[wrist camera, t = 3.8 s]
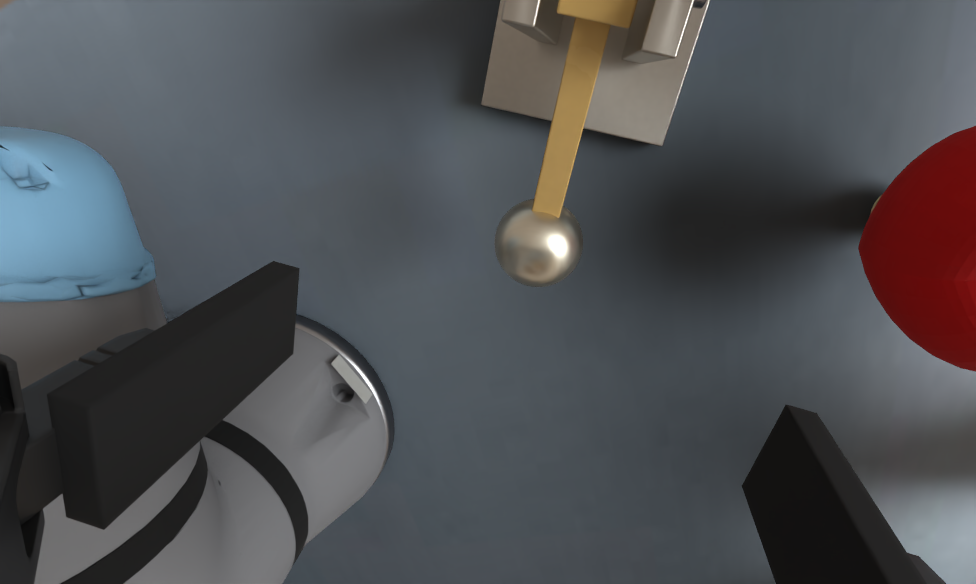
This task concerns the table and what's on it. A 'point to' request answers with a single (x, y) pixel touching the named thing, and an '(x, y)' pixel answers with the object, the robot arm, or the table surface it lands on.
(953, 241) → the red lobed blob
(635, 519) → the table surface
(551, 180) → the power lever
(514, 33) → the power switch
